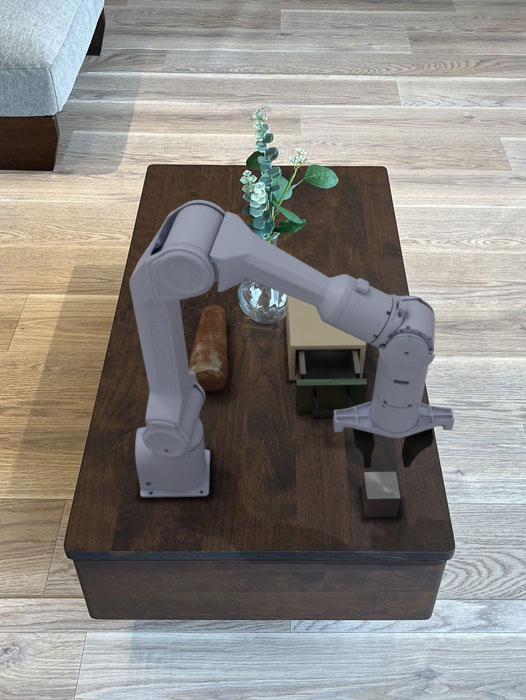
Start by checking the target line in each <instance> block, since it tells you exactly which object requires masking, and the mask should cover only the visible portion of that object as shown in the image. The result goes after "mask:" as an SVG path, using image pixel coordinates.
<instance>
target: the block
mask: <svg viewBox="0 0 526 700" xmlns="http://www.w3.org/2000/svg"><path fill="white" fill-rule="evenodd" d="M360 492H361V500H362V508H363V514H364V518H397V517H398V513H399V508H400V502H401V491H400V486H399V480H398V475H397V471H364V472H363V476H362V483H361V491H360Z"/></svg>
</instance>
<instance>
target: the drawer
mask: <svg viewBox="0 0 526 700" xmlns="http://www.w3.org/2000/svg"><path fill="white" fill-rule="evenodd" d="M296 355H297V369H298V380H295V407H294V409H295V412H312V419H313V420H333V417H334V410H342V409H347V408H351V407H354V406H357V405H361V404H364V403H366V397H367V389H368V379H367V378H362V379H360V374H361V372H360V365H359V359H358V352H357V349H296Z"/></svg>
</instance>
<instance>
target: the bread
mask: <svg viewBox="0 0 526 700" xmlns="http://www.w3.org/2000/svg"><path fill="white" fill-rule="evenodd" d="M200 315H201V316H200V320H199V323H198V326H197V330H196V334H195V339H194V341H193V345H192V350H191V354H190V358H189V362H188V366H189V370H190V371H192V372H195V373H196V379H197V381H198V383H199V385H200V386H201V387H202V388H203V390H204V392H216V391H219V390H222V389H223V388H224V387H225V386H227V382H228V376H229V375H228V374H229V373H228V372H229V371H228V339H227V322H226V321H227V320H226V311H225V308H224V307H222V306H221V305H219V304H210V305H208V306H206V307H204V308H203V309H202V312H201V314H200Z"/></svg>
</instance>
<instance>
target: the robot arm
mask: <svg viewBox="0 0 526 700" xmlns="http://www.w3.org/2000/svg"><path fill="white" fill-rule="evenodd" d="M247 281H251V282H253V283H256V284H258V285H260V286H263V287H265V288H268V289H271V290H273V291H275V292H278V293H280V294H284V295H285V296H287V295H288V296H291V297H293V298H296V299H298V300H301V301H304V302H306V303H309V304H311V305H314V306H315V307H316V308H317V311H318V313H319V315H320V318H321V320H322V321H323V322H325V323H327V324H329V325H331V326H333V327H335V328H337V329H339V330H341V331H343V332H345V333H347V334H350V335H352V336H354V337H356V338H358V339H360V340H362V341H364V342H366V344H368V345H371V346H373V347H375V348H377V349H378V359H377V364H376V373H375V380H374V386H373V393H372V400H371V401H368V402H365V403H364V404H361V405H357V406H354V407H351V408H347V409H342V410H334V417H333V419H332V423H333V431H334V433H342V432H344V429H352V432H353V441H354V444H355V446H356V448H357V449H358V450H359V452H360V453H361V455H362V459H363V466H364V468H365V469H371V467H372V455H373V451H374V449H375V447H376V443H375V442H376V441H375V436H374V435H379V436H382V437H387V438H393V439H400V438H401V439H402V438H404V440H403V444H402V449H401V459H402V465H403V468H410V466H411V465H412V463H413V461H414V460H416V458H417V457H418V456H419V455H420V453H422V452H423V451H424V450H425V449H428V448H430V447H432V445H433V443H434V438H435V437H434V432H433V429H434V428H437V427H442V429H443V430H444V431H452V430H453V428H454V424H455V416H454V412H453V409H452V407H440V406H436V405H431V404H427V403H423V402H422V399H423V395H424V390H425V385H426V382H427V381H426V380H427V375H428V371H429V365H431V364H432V362H433V361H434V360H435V357H436V355H435V354H434V351H435V337H436V336H435V332H436V317H435V315H436V314H435V311H434V309H433V307H432V306H431V305H430V304H429V303H428V302H427V301H426V300H424V299H422V297H420V296H416V295H398V294H397V295H396V294H394V293H393V294H390V293H389V294H387V293H385V292H384V291H382V290H379V289H377V288H375V287H373V286H372V285H370V282H369V281H368V280H366V279H363V278H361V277H359V278H355V277H353V276H351V275H350V274H347V273H343V274H339V275H336V276H331V277H329V276H327V275H326V274H324V273H322V272H321V271H319V270H317V269H315V268H313V267H312V266H311V265H309V264H307V263H305V262H303V261H301V260H300V259H298V258H296V257H295V256H293V255H291V254H290V253H288V252H286V251H284V250H283V249H281V248H279V247H277V246H276V245H274V244H272V243H271V242H269V241H267V240H266V239H264V238H263V237H260V236H259V235H257V234H256V233H254V231H252V230H251V228H250V227H249V226H248V225H247V224H246V223H245V222H244V220H243V219H242V218H241V217H240V216H239V215H238V214H236V213H233V212H231V211H228V210H227V211H225V210H224V209H223V208H222V207H221V206H219V205H218V204H216V203H215V202H212V201H208V200H203V199H194V200H190V201H187V202H186V203H184V204H183V205H180V206H178V207H177V208H176V209H174V210H172V211H171V212H169V213H168V215H167V216H166V218H165V220H164V222H162V224H161V227H160V228H159V229H158V231H157V232H156V234H155V236H154V237H153V239H152V241H150V243H149V245H148V246H147V248H146V249H145V251H144V252H143V254H142V255H141V257H140V258H139V260H138V261H137V264H136V266H135V267H134V270H133V272H132V274H131V276H130V278H129V281H128V283H129V285H128V286H129V291H130V295H131V301H132V307H133V311H134V316H135V322H136V327H137V332H138V337H139V342H140V348H141V352H142V357H143V363H144V368H145V372H146V373H145V374H146V378H147V384H148V389H149V393H148V400H147V405H146V412H145V424H146V425H145V426H143V427H137V429H136V434H135V442H134V443H135V444H134V445H135V446H134V454H135V455H134V456H135V457H134V458H135V459H134V460H135V466H136V467H135V468H136V473H137V477H138V478H137V479H138V483H139V488H140V490H139V491H140V494H139V495H140V497H141V498H186V497H187V498H188V497H189V498H190V497H191V498H192V497H196V498H197V497H207V496H209V494H210V471H211V470H210V469H211V451H210V450H209V449H206V445H205V435H204V433H205V432H204V426H203V423H202V421H201V417H200V414H201V411H202V407H203V406H204V404H205V402H206V391H204V390H203V388H202V387H201V386H200V385H199V383H198V381H197V379H196V373H195V372H192V371H190V370H189V360H188V352H187V346H186V345H187V344H186V339H185V338H186V337H185V331H184V324H183V317H182V310H181V303H180V300H186V299H190V298H191V299H192V298H195V297H198V296H202V295H204V294H206V293H207V292H208V291H209V290H211V288H212V287H213V285H214V283H217V293H222V292H224V291H226V290H229V289H231V288H233V287H236V286H238V285H240V284H242V283H244V282H247Z"/></svg>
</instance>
